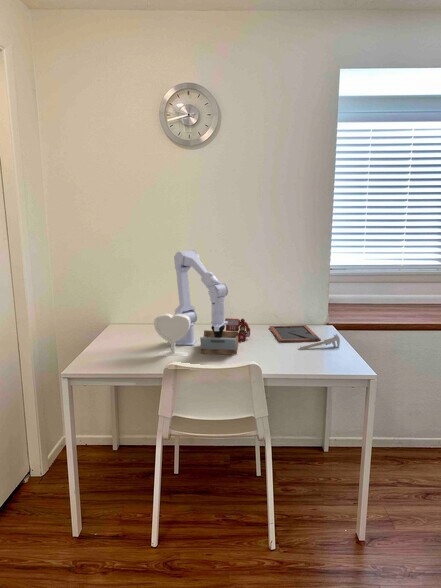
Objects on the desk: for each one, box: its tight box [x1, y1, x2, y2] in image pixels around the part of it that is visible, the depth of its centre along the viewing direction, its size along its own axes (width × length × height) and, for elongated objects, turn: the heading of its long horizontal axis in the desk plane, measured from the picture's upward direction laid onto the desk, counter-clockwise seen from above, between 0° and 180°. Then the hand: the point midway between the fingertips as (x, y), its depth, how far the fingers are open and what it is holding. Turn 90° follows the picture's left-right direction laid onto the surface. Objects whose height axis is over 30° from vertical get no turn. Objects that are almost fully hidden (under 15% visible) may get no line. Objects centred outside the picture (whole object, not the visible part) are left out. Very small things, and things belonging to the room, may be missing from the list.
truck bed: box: [200, 329, 239, 355], centre depth 189 cm, size 16×12×7 cm
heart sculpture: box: [153, 312, 191, 357], centre depth 182 cm, size 16×5×18 cm, turn 83°
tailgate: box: [199, 336, 236, 350], centre depth 180 cm, size 15×2×6 cm, turn 84°
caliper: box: [297, 333, 341, 351], centre depth 190 cm, size 20×1×6 cm, turn 102°
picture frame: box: [269, 324, 322, 344], centre depth 211 cm, size 20×2×25 cm
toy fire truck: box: [225, 317, 251, 342], centre depth 203 cm, size 7×12×10 cm, turn 82°
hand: (218, 341), depth 181 cm, fingers closed, pressing on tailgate
